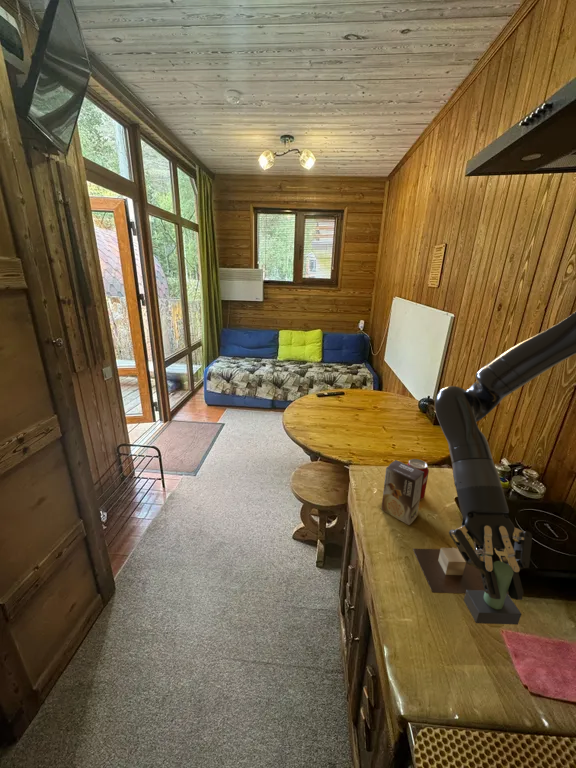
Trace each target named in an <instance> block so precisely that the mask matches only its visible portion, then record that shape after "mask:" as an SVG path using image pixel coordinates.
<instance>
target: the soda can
mask: <svg viewBox="0 0 576 768" xmlns="http://www.w3.org/2000/svg"><path fill="white" fill-rule="evenodd" d="M406 464H407V465H409V466H411V467H414V468H416V469H419V470H421V471H423V472H424V478H423V484H422V490H421V497H420V501H421V500H423V499H424V498H425V495H426V491H427V484H428V478H429V473H430V469H429V467H428V463H427V462H426V461H424V460H422V459H418V458H411V459H409V460H408V463H406Z"/></svg>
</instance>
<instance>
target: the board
mask: <svg viewBox="0 0 576 768" xmlns="http://www.w3.org/2000/svg"><path fill="white" fill-rule="evenodd" d="M440 549H441V548H414V547H412V551H413V552H414V555H415V558H416V560H417V562H418V564H419V566H420V568H421V571H422V573H423V575H424V577H425V579H426V582H427V584H428V586H429V588H430V590H431V593H434V594H463V595H465V593H466V590H480V591H485V590H484V586H483V582H482V577H481V573H480V571H479V569H478V568H476V567H473V566H470V565H468V564H467V563H466V564H465V568H464V572H463V575H446V574H445V573H444V571H443V569H442V567H441V565H440V563H439V561H438V558H439V554H440ZM473 550H474V549H473ZM459 552H460V551H459ZM474 552H475V550H474ZM461 555H462V554H461ZM462 557H463V556H462ZM464 560H465V559H464ZM507 594H508V595H509V593H508V592H507Z"/></svg>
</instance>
